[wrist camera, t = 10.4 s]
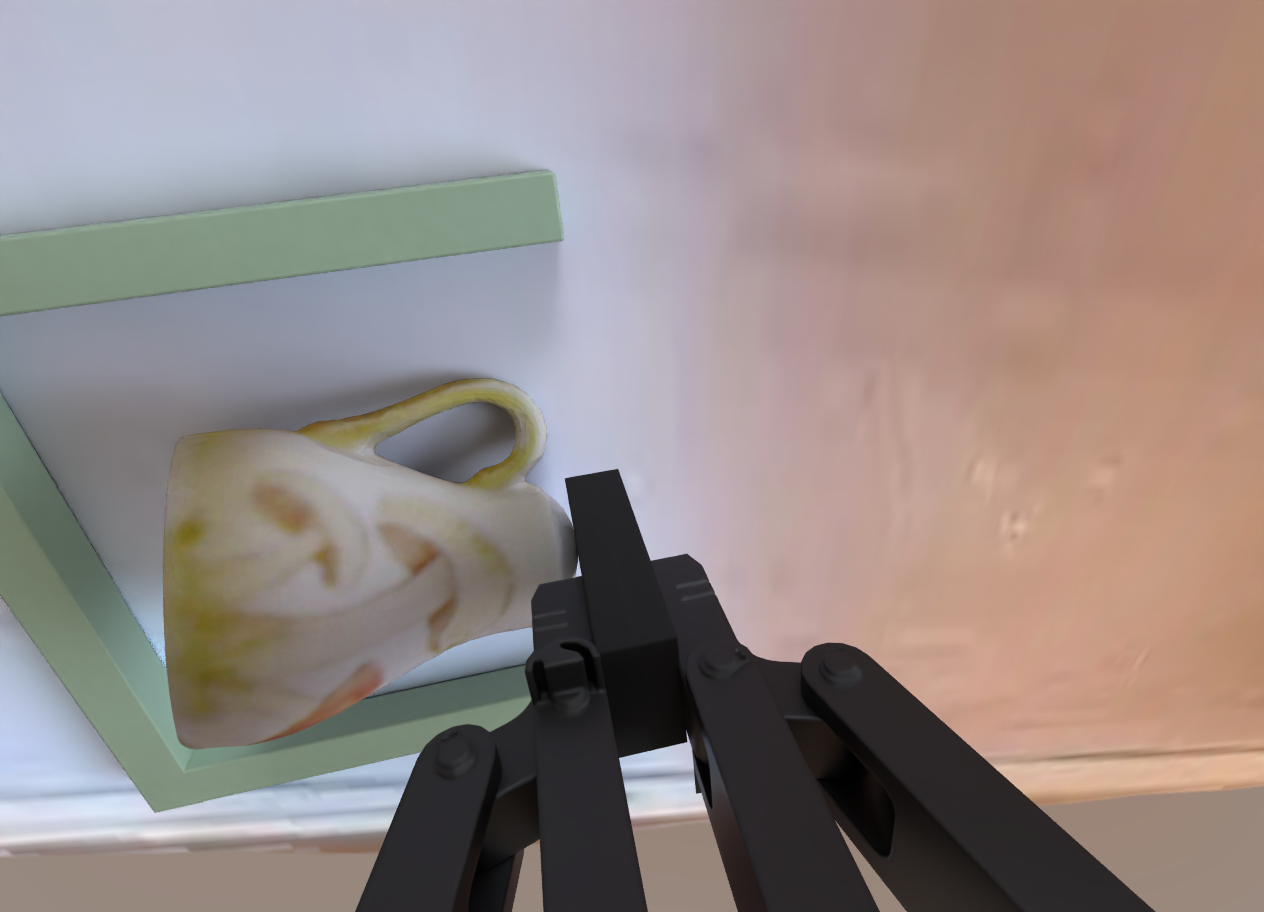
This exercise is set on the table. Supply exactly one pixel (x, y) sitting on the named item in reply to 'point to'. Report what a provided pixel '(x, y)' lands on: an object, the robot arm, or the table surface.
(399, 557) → the mug
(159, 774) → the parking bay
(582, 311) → the table surface
